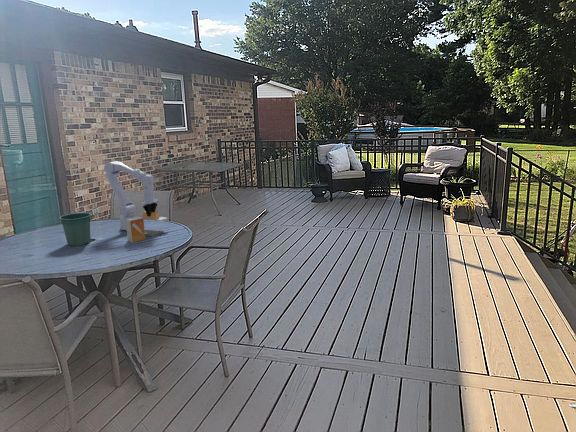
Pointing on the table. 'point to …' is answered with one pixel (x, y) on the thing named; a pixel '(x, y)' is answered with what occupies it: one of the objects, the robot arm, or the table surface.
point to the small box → (135, 229)
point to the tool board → (152, 232)
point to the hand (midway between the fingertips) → (151, 215)
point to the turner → (154, 216)
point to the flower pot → (76, 228)
